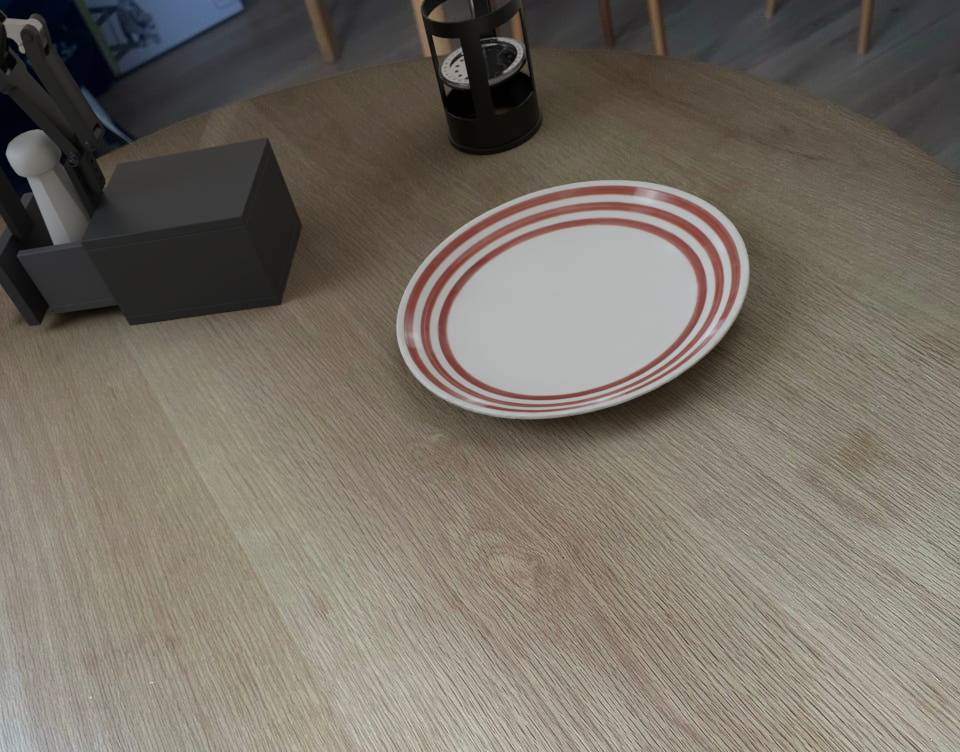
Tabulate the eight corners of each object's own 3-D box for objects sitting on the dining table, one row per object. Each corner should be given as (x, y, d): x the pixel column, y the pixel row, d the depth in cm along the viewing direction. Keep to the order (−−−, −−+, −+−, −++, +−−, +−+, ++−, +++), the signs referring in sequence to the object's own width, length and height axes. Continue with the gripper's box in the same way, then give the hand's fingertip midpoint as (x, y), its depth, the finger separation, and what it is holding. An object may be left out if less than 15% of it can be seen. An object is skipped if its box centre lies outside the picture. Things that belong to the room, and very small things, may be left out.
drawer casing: (129, 325, 94) (79, 241, 87) (160, 247, 100) (116, 163, 93) (280, 304, 91) (241, 216, 84) (302, 225, 97) (267, 136, 90)
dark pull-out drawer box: (-29, 334, 97) (-76, 272, 91) (7, 265, 103) (-35, 203, 97) (162, 307, 92) (125, 241, 87) (188, 237, 98) (155, 170, 93)
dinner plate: (543, 503, 71) (535, 469, 68) (344, 335, 86) (331, 303, 83) (828, 300, 76) (831, 261, 74) (593, 176, 92) (588, 141, 89)
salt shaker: (109, 293, 94) (30, 160, 83) (62, 289, 96) (-22, 159, 85) (142, 252, 96) (69, 119, 86) (95, 250, 98) (18, 119, 88)
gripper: (-234, -6, 74) (-48, 267, 92) (19, -51, 70) (160, 242, 89) (-189, -52, 78) (-19, 217, 96) (52, -97, 74) (180, 192, 93)
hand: (66, 229), depth 92 cm, fingers open, 7 cm apart
